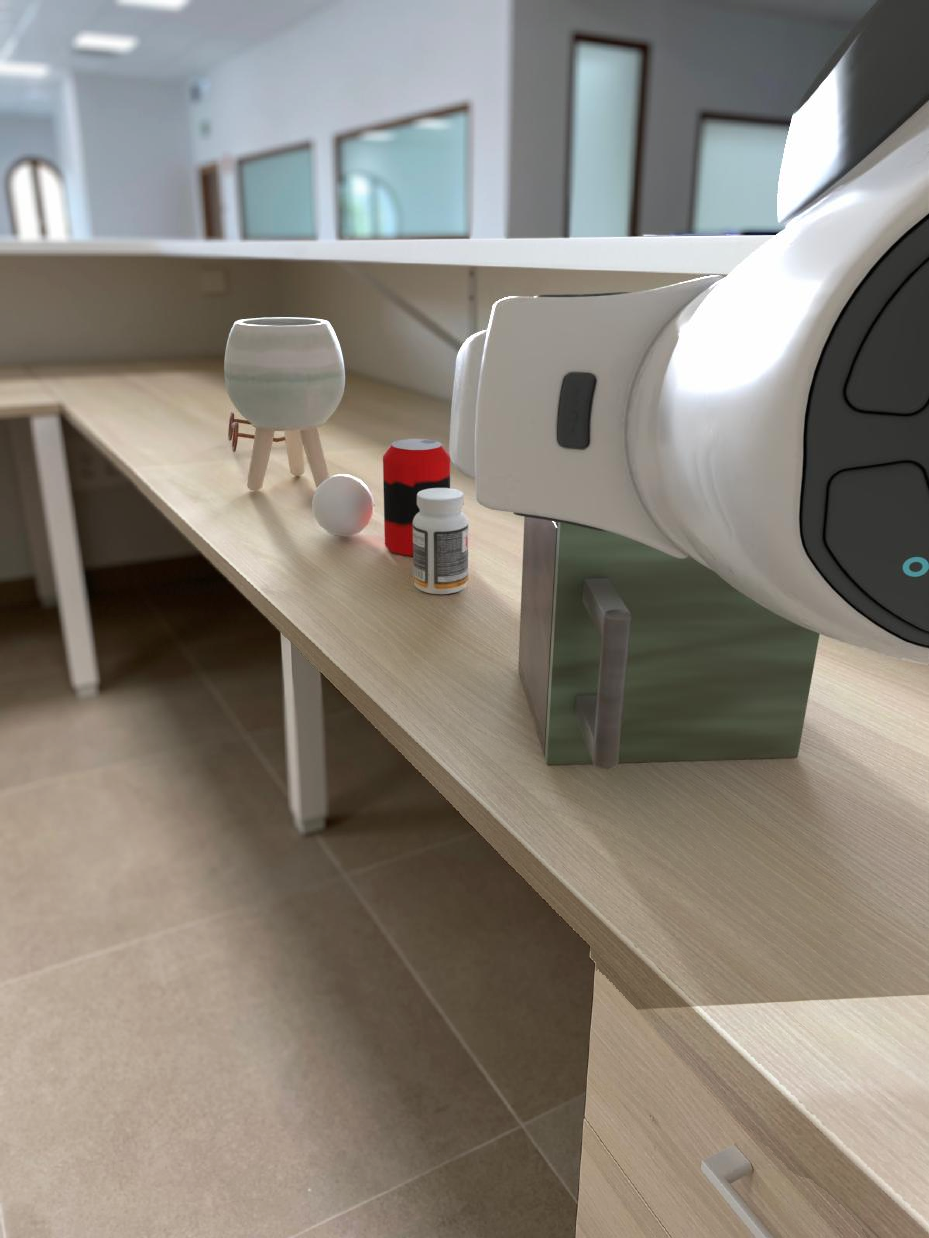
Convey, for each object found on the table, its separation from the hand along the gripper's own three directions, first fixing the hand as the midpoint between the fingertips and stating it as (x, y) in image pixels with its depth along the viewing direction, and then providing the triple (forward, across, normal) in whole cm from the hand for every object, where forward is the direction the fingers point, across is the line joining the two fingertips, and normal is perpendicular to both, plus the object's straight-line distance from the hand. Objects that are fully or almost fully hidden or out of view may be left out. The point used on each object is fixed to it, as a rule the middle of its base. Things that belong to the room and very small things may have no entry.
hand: (684, 429), depth 41 cm
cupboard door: (+17, -6, +23) cm, 29 cm away
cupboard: (+28, -4, +21) cm, 35 cm away
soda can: (+64, +18, +15) cm, 69 cm away
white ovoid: (+69, +27, +15) cm, 76 cm away
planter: (+89, +38, +11) cm, 98 cm away
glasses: (+114, +48, +7) cm, 124 cm away
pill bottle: (+52, +14, +17) cm, 57 cm away
